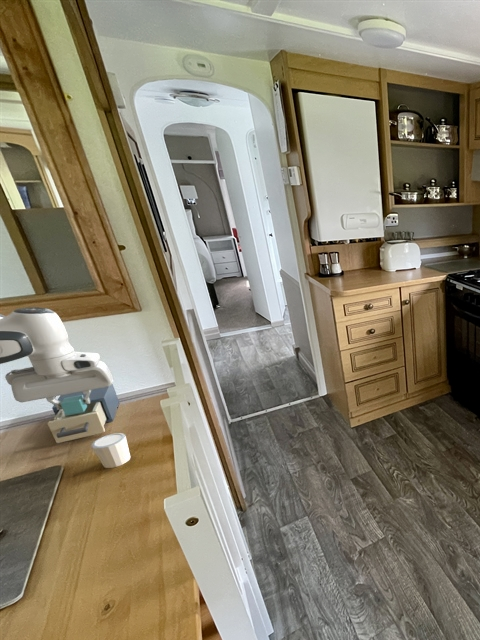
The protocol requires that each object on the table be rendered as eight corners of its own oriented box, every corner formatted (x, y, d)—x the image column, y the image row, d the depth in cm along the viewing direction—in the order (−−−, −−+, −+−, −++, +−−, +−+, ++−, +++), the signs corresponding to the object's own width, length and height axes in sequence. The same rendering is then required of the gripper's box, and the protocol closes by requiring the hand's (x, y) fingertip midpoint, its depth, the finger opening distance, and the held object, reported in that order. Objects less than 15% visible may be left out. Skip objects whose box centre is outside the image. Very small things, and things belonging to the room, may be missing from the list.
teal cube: (65, 415, 109) (60, 403, 108) (69, 409, 112) (64, 398, 111) (84, 412, 111) (79, 400, 110) (87, 406, 114) (82, 394, 113)
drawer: (101, 440, 110) (93, 420, 107) (51, 452, 104) (41, 431, 102) (111, 413, 123) (104, 395, 121) (68, 423, 118) (59, 404, 115)
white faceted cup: (133, 450, 107) (125, 429, 105) (133, 462, 102) (125, 441, 100) (100, 460, 103) (91, 438, 101) (99, 473, 98) (89, 451, 96)
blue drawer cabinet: (113, 421, 121) (103, 397, 117) (63, 432, 115) (51, 407, 111) (119, 402, 131) (111, 381, 128) (74, 412, 125) (64, 389, 122)
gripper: (-3, 376, 98) (20, 421, 103) (101, 359, 109) (117, 401, 114) (6, 367, 103) (28, 410, 108) (105, 352, 114) (120, 392, 119)
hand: (74, 405), depth 111 cm, fingers closed on teal cube, 4 cm apart
